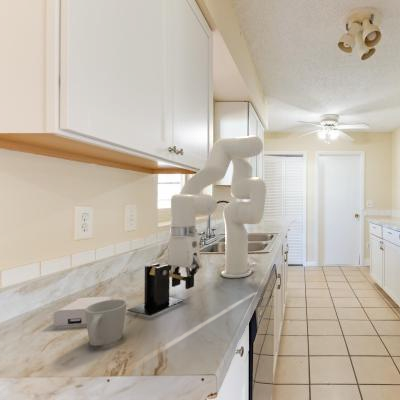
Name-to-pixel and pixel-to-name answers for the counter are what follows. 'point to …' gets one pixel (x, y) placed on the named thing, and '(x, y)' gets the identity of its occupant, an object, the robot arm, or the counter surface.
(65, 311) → the charger
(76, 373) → the counter surface
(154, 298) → the bracket
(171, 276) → the tap lever
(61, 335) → the counter surface
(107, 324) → the cup
